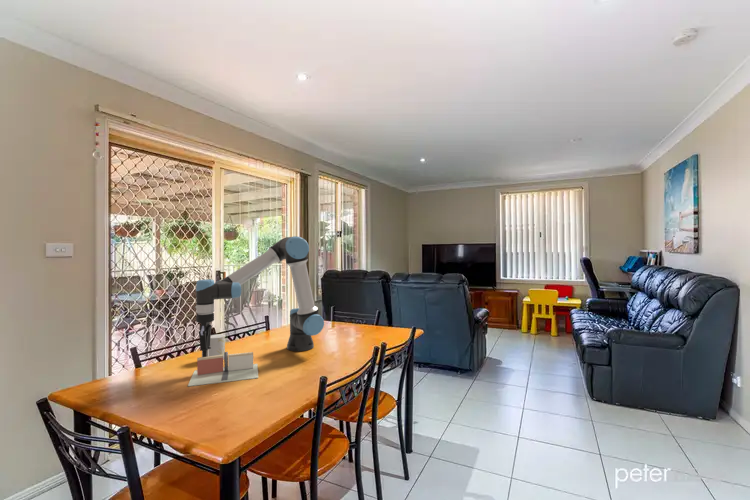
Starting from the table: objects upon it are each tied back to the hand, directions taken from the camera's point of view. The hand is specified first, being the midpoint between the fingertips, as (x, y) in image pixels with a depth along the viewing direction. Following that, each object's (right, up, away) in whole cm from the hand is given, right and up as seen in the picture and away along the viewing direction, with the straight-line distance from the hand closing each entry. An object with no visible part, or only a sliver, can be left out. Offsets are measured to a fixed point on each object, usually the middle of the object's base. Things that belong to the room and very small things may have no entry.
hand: (205, 363), depth 163 cm
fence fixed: (+14, -4, +3) cm, 15 cm away
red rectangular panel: (+3, -4, -2) cm, 5 cm away
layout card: (+10, -4, -2) cm, 11 cm away
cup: (-4, -4, +20) cm, 21 cm away
